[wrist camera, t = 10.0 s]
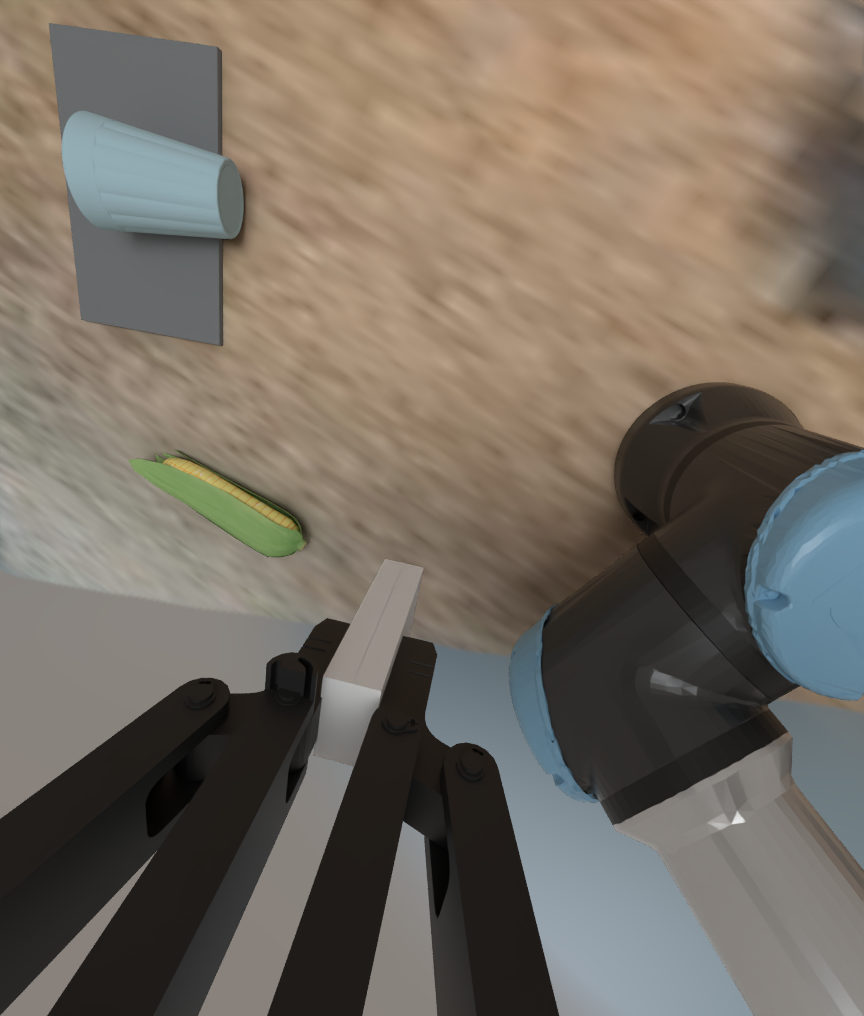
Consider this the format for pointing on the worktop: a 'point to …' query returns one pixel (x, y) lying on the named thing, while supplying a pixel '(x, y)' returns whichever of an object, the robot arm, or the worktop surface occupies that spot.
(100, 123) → the cup
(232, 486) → the edible corn
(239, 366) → the worktop surface
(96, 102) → the mat
